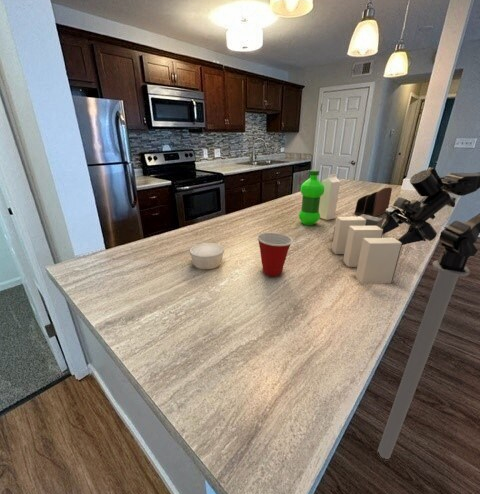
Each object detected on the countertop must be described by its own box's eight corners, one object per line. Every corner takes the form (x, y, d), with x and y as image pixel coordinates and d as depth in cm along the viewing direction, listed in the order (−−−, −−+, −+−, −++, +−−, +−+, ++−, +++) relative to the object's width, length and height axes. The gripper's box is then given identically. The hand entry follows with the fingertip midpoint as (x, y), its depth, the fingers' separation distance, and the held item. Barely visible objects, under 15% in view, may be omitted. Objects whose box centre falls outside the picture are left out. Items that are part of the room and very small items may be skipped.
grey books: (380, 231, 117) (383, 218, 115) (353, 247, 101) (356, 232, 98) (360, 226, 123) (363, 214, 121) (332, 240, 107) (334, 226, 105)
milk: (317, 217, 136) (322, 173, 127) (325, 215, 139) (331, 172, 130) (326, 220, 131) (332, 175, 123) (335, 218, 134) (341, 174, 126)
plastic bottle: (298, 219, 132) (303, 168, 123) (320, 221, 129) (327, 169, 120) (295, 225, 124) (300, 171, 114) (318, 228, 120) (326, 172, 111)
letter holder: (387, 211, 146) (393, 185, 141) (372, 218, 134) (378, 191, 128) (369, 207, 153) (374, 183, 148) (354, 214, 141) (358, 188, 135)
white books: (355, 249, 99) (361, 216, 94) (391, 283, 77) (402, 243, 72) (331, 249, 99) (336, 216, 94) (361, 284, 77) (370, 243, 72)
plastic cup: (297, 275, 81) (301, 239, 77) (268, 284, 76) (271, 247, 72) (276, 261, 90) (278, 228, 85) (249, 268, 85) (250, 234, 80)
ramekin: (187, 258, 91) (186, 245, 89) (218, 254, 95) (218, 240, 93) (194, 274, 82) (193, 259, 80) (228, 268, 85) (228, 253, 83)
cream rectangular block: (369, 260, 90) (376, 225, 85) (375, 266, 87) (383, 229, 82) (343, 261, 90) (349, 225, 85) (347, 266, 86) (354, 230, 81)
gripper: (397, 182, 88) (359, 214, 91) (438, 195, 70) (389, 234, 74) (413, 205, 91) (376, 235, 95) (457, 222, 74) (409, 258, 78)
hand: (386, 239), depth 85 cm, fingers open, 9 cm apart
